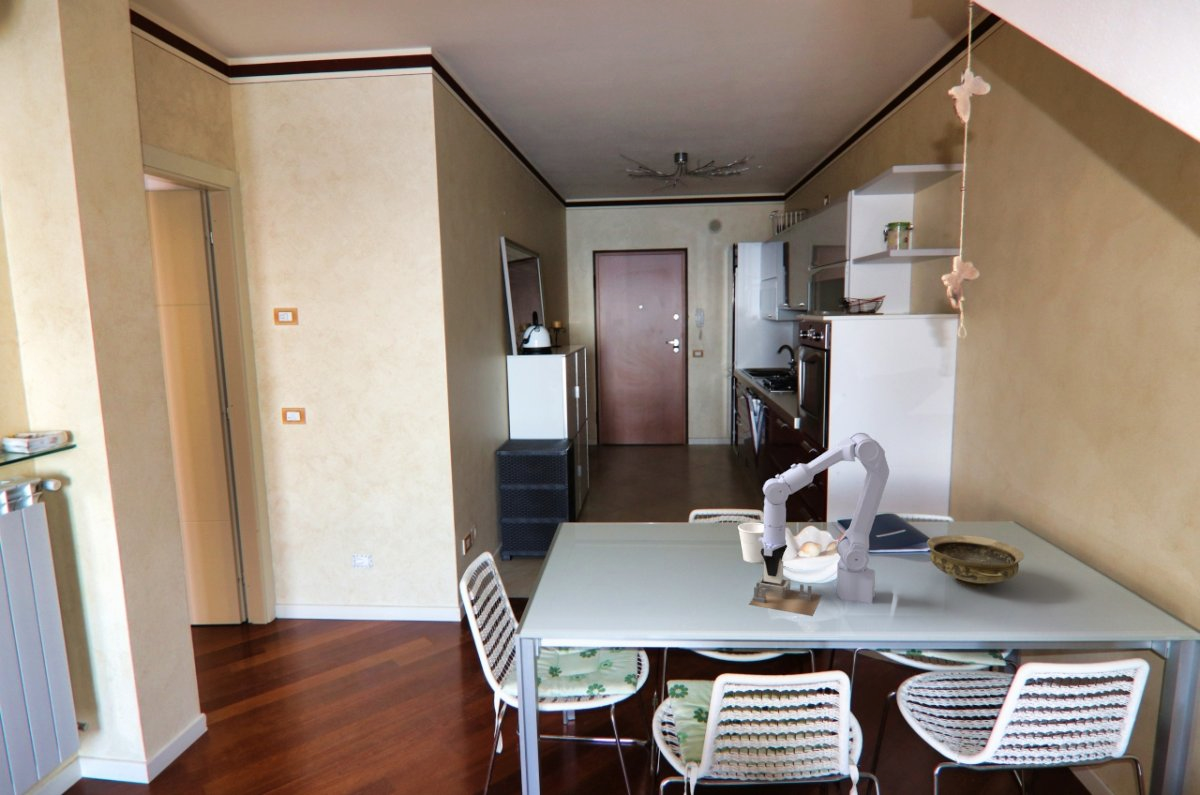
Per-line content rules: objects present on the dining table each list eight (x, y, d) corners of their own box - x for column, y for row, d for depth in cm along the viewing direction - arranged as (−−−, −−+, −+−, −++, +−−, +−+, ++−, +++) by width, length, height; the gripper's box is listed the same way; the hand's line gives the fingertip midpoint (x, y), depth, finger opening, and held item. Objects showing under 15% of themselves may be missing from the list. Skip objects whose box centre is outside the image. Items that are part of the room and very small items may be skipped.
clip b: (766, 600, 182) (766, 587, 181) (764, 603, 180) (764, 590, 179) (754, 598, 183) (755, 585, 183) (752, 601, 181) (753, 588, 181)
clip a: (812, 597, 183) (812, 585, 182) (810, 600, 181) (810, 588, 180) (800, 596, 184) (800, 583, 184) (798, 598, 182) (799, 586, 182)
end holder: (790, 590, 188) (790, 579, 187) (785, 599, 182) (785, 588, 182) (761, 585, 191) (762, 575, 191) (756, 594, 186) (756, 583, 185)
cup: (743, 554, 218) (744, 520, 217) (774, 559, 213) (775, 525, 212) (732, 564, 210) (733, 529, 209) (764, 570, 205) (765, 534, 204)
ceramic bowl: (1042, 607, 177) (1045, 569, 176) (942, 601, 182) (943, 564, 180) (998, 565, 207) (1000, 532, 205) (913, 560, 211) (914, 529, 210)
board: (821, 598, 185) (821, 595, 184) (812, 619, 172) (812, 615, 172) (761, 588, 192) (761, 585, 192) (748, 608, 179) (748, 604, 179)
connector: (782, 579, 187) (783, 558, 186) (780, 583, 184) (780, 562, 183) (766, 577, 189) (766, 555, 188) (763, 581, 186) (763, 559, 185)
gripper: (766, 515, 193) (765, 562, 194) (752, 530, 180) (751, 580, 181) (791, 518, 189) (790, 566, 191) (780, 533, 177) (779, 584, 178)
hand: (773, 573), depth 186 cm, fingers closed on connector, 3 cm apart
